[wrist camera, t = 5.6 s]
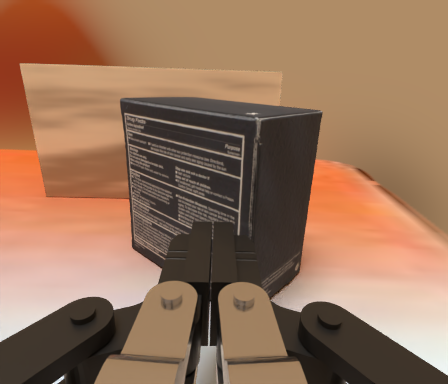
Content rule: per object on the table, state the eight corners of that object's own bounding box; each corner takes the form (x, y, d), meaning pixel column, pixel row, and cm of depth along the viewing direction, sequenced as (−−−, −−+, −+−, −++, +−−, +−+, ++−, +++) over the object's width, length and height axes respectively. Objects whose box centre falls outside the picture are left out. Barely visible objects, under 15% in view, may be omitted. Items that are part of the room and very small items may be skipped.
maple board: (270, 201, 31) (282, 72, 26) (46, 196, 30) (19, 63, 26) (264, 187, 34) (274, 71, 30) (65, 182, 34) (45, 64, 29)
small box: (305, 271, 20) (331, 107, 16) (244, 327, 16) (259, 118, 12) (195, 219, 27) (194, 92, 23) (128, 248, 22) (113, 96, 18)
